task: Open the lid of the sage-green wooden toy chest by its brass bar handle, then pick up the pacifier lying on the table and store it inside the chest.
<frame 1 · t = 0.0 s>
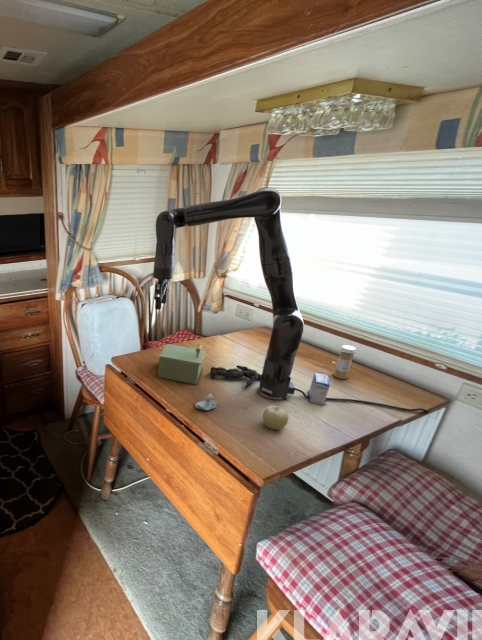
hand: (160, 306, 142), 29 cm above the table, tool pointing down, fingers open, 8 cm apart
sprinkles bottle: (339, 377, 148), on the table
lid: (183, 349, 147), point 11 cm above the table, hinge at 0.0°
medicine box: (315, 398, 133), on the table
robot figurine: (235, 378, 147), on the table
chest: (179, 373, 152), on the table
pacifier: (204, 407, 128), on the table
fruit: (272, 426, 118), on the table
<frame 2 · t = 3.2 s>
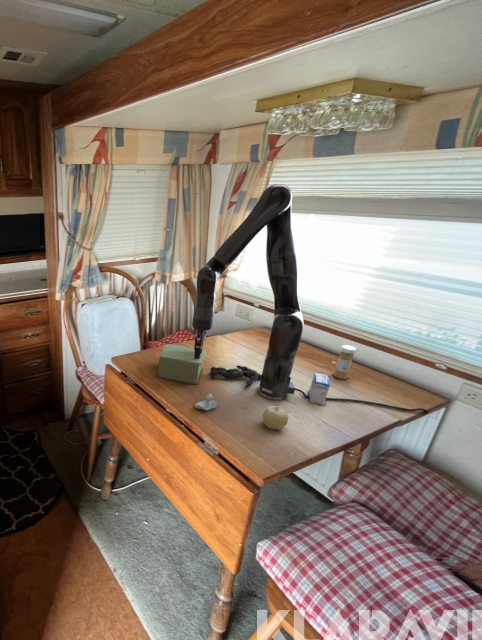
hand: (198, 355, 145), 10 cm above the table, tool pointing down, fingers closed on lid, 5 cm apart
lid: (183, 349, 147), point 11 cm above the table, hinge at -0.1°, touching gripper
everything else where it was.
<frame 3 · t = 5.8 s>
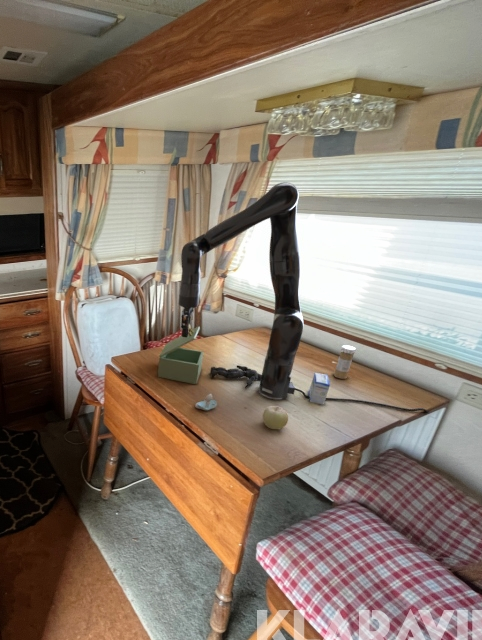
hand: (186, 334, 144), 18 cm above the table, tool pointing down, fingers closed on lid, 5 cm apart
lid: (176, 337, 146), point 16 cm above the table, hinge at 39.1°, touching gripper
everything else where it was.
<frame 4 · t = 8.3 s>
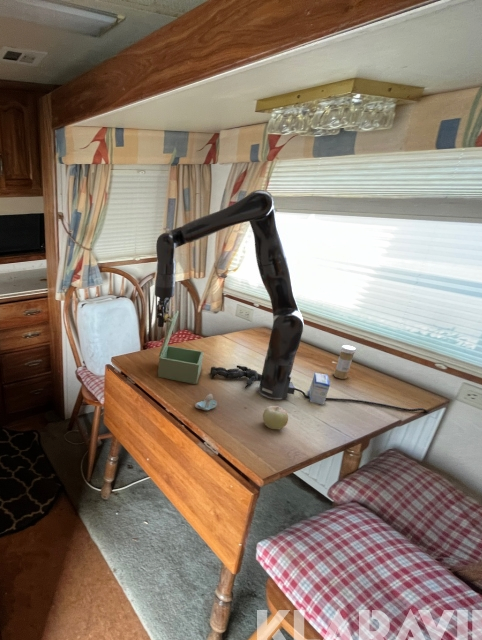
hand: (162, 324, 147), 21 cm above the table, tool pointing down, fingers closed on lid, 5 cm apart
lid: (164, 331, 148), point 18 cm above the table, hinge at 77.9°, touching gripper
everything else where it was.
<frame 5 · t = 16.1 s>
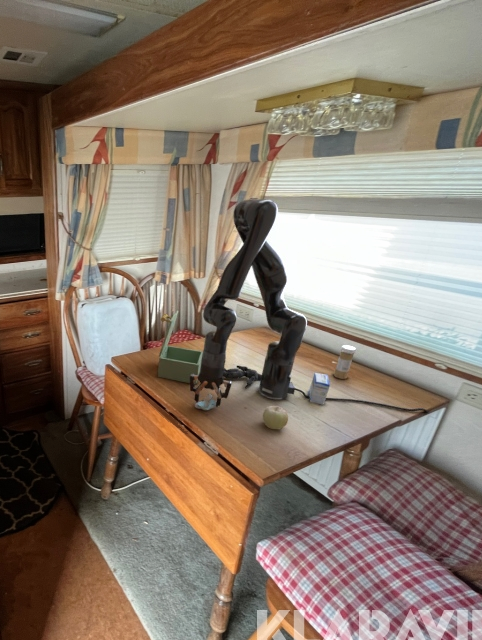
hand: (207, 403, 127), 2 cm above the table, tool pointing down, fingers closed on pacifier, 6 cm apart
lid: (163, 331, 148), point 18 cm above the table, hinge at 78.4°
pacifier: (204, 407, 128), on the table, touching gripper
everything else where it was.
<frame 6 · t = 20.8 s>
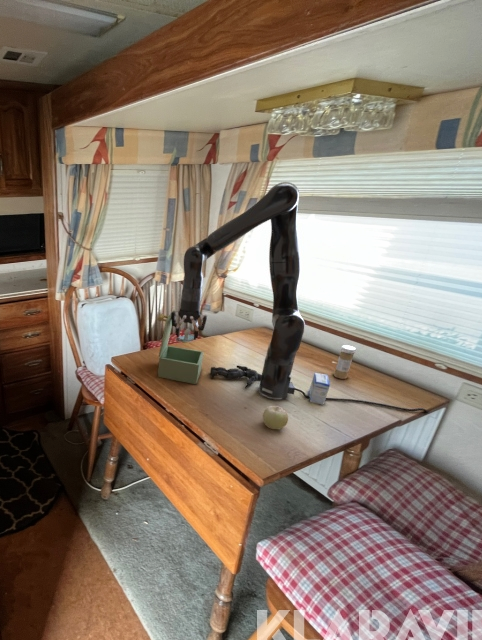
hand: (186, 337, 145), 17 cm above the table, tool pointing down, fingers closed on pacifier, 6 cm apart
lid: (162, 331, 148), point 18 cm above the table, hinge at 83.7°
pacifier: (184, 341, 146), point 15 cm above the table, touching gripper
everything else where it was.
when the fingers open (6 cm above the table, at t = 24.1 s): pacifier drops 3 cm, resting on chest.
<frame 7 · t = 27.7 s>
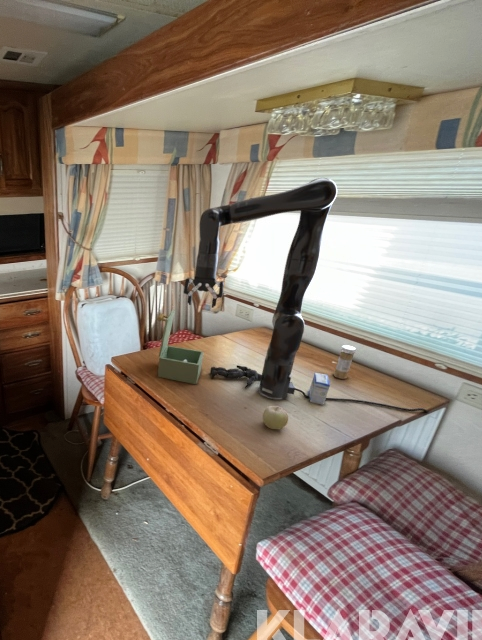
hand: (201, 305, 140), 30 cm above the table, tool pointing down, fingers open, 8 cm apart
lid: (161, 331, 148), point 18 cm above the table, hinge at 84.1°
pacifier: (181, 372, 151), point 1 cm above the table, touching chest
everything else where it was.
at the end: lid at +84° (first picture: +0°); pacifier inside the target area in the chest (0.5 cm from its centre), point 0.6 cm above the chest's base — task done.
